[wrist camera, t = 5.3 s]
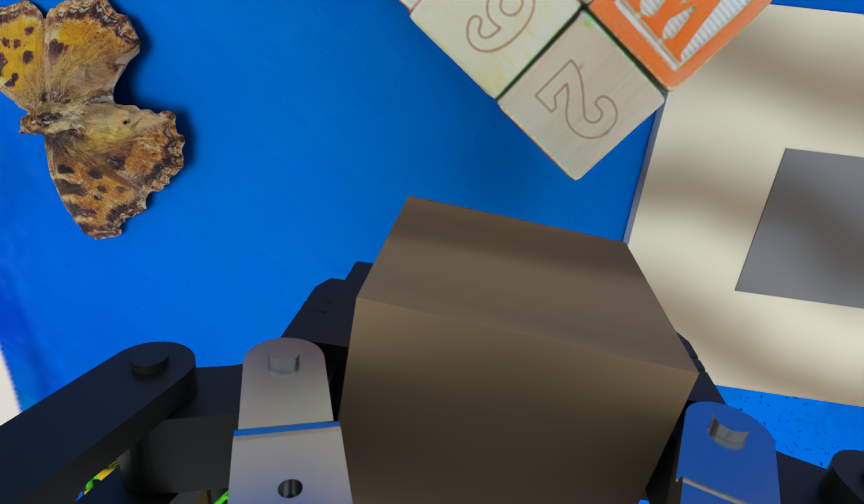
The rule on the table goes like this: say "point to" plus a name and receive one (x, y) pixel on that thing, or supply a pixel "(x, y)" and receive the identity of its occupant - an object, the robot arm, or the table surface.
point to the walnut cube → (506, 366)
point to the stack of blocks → (581, 61)
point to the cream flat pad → (764, 207)
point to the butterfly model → (86, 109)
